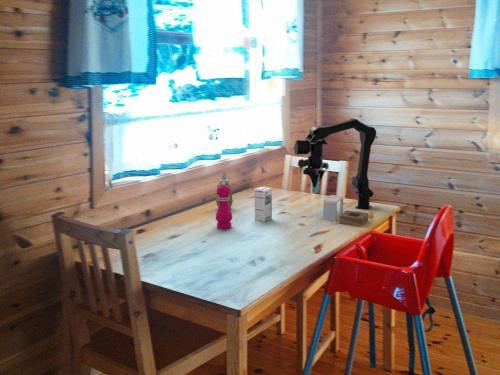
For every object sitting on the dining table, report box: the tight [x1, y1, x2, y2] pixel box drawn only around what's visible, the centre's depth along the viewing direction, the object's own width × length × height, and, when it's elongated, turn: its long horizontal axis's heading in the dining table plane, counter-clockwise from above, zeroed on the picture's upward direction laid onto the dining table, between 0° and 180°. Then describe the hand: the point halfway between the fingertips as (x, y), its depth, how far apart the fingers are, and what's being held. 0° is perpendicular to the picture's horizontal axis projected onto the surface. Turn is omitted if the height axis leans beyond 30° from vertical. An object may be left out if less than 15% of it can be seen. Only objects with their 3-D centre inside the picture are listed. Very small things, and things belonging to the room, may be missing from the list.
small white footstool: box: [322, 194, 344, 221], centre depth 255 cm, size 10×6×9 cm, turn 153°
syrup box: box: [253, 186, 273, 222], centre depth 250 cm, size 6×6×14 cm
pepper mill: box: [215, 182, 233, 230], centre depth 238 cm, size 7×7×20 cm
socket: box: [339, 210, 369, 227], centre depth 247 cm, size 10×10×4 cm
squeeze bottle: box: [215, 171, 234, 210], centre depth 267 cm, size 8×8×18 cm
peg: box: [311, 176, 320, 194], centre depth 263 cm, size 3×3×8 cm
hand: (315, 186), depth 263 cm, fingers closed on peg, 3 cm apart
